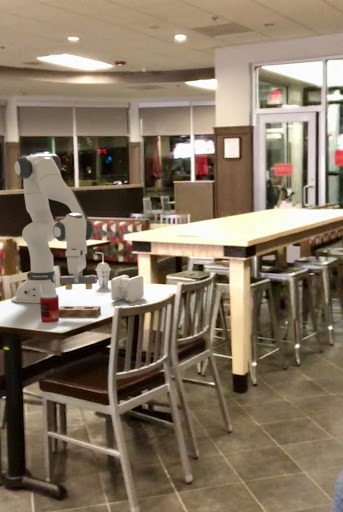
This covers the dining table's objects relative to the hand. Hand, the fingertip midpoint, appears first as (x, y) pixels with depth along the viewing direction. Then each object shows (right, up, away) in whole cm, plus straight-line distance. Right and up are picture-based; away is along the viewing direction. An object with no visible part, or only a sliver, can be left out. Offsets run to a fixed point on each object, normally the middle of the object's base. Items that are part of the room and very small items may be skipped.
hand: (78, 281), depth 303 cm
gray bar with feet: (0, -3, 0) cm, 4 cm away
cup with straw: (+4, -6, +67) cm, 68 cm away
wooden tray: (0, -15, +2) cm, 15 cm away
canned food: (-11, -17, -9) cm, 22 cm away
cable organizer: (+20, -11, +33) cm, 40 cm away
